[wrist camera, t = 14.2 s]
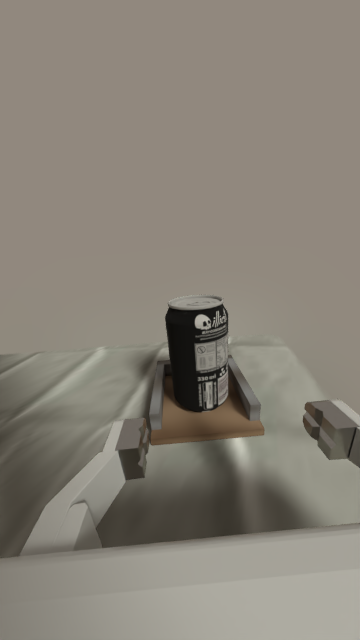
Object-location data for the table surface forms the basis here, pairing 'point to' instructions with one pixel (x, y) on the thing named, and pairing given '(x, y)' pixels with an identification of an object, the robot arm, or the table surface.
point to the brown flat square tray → (189, 426)
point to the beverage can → (198, 351)
